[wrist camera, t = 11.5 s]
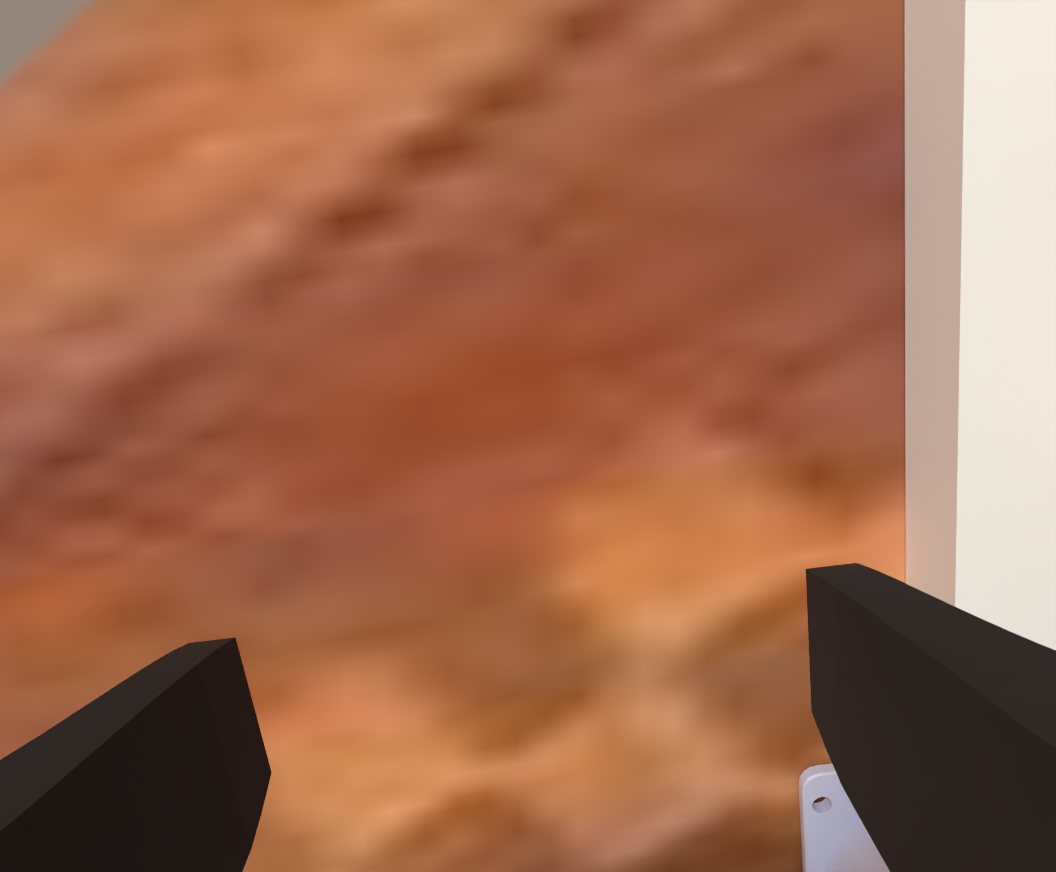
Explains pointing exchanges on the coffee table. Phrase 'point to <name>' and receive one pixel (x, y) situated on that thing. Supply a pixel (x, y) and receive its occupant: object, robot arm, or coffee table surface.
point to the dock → (981, 308)
